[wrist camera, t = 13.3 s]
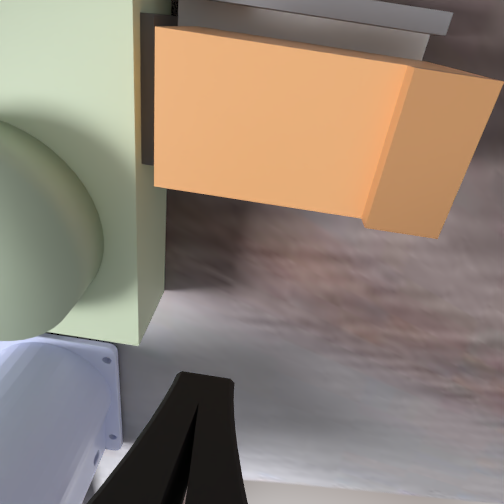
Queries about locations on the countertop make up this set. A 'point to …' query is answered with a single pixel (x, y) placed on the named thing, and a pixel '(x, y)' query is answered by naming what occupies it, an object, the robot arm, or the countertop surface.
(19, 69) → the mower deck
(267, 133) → the orange stepped block
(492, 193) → the countertop surface
